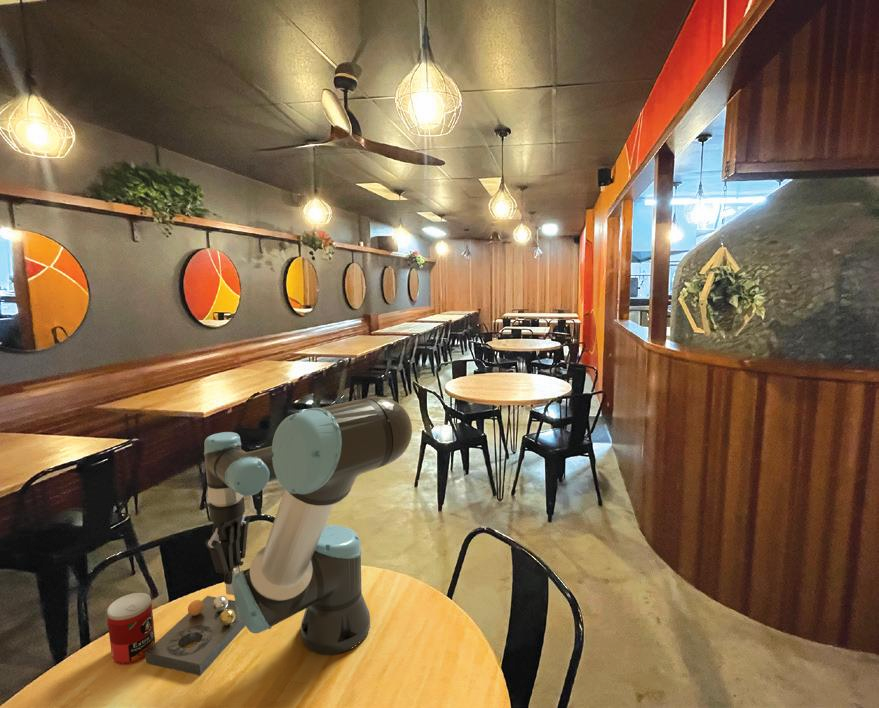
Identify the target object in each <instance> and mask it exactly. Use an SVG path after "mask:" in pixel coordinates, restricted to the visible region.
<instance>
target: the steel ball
mask: <svg viewBox="0 0 879 708" xmlns="http://www.w3.org/2000/svg"><path fill="white" fill-rule="evenodd" d="M228 600H229V599H228V597H226V596H225V595H219V596H217V598H216V599H215V600H214V602H213V608H214V610H215V611H218V612H220V611H223V610H224V609H225V608H226V607H227V605H228Z"/></svg>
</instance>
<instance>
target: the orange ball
mask: <svg viewBox="0 0 879 708" xmlns="http://www.w3.org/2000/svg"><path fill="white" fill-rule="evenodd" d="M203 608H204V604H203V602H202V600H200V599H193V600H192V601H191V602H190V603H189V605H188V606H187V611H188V613H189V614H190V615H192V616H196V615H198V614H200V613H201V612H202V610H203ZM188 613H187V614H188Z"/></svg>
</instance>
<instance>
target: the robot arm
mask: <svg viewBox="0 0 879 708" xmlns="http://www.w3.org/2000/svg"><path fill="white" fill-rule="evenodd" d="M412 435H413V425H412V419H411V418H410V415H409V413H408V412H407V410H406V409H405V408H404V407H403V406H402V405H401V404H400V403H399V402H397V401H395V400H393V398H388V397H384V396H369V397H365V398H361V399H356V400H350V401H345V402H342V403H341V402H340V403H337V404H332V405H328V406H323V407H312V408H311V407H309V408H307V409H305V410H303V411H300V412H296V413H294V414H291V415H288V416H286V417H285V418H284V419H283V420H281V422H280V423H279V425H278V426H277V428H276V430H275V432H274V435H273V439H272V442H271V443H272V444H271V445H270V446H268V447H263V448H259V449H256V450H251V451H245V450H244V449H242V441H241V437H240V434H238V433H237V432H233V431H224V432H223V431H222V432H218V433H213V434H211V435H209V436H207V437H206V438H205V440H204V445H203V446H204V449H203V450H204V452H203V455H204V461H205V474H206V475H205V476H206V484H207V485H206V486H207V495H208V502H209V503H208V514H209V515H208V516H209V519H210V520H211V522H212V523H213V527H212V535H211V537H210V539H206V540H205V541H204V545H205V546H206V547H207V548H208V550H209V553H210V557H211V560H212V563H213V566H214V570H215V572H216V573H220V574H223V581H224V584H225V593H226V595H231V596H233V597H234V601H236V605H237V607H238V610H239V613H240V615H241V618H242V620H243V622H244V624H245V627H246V628H247V630H248V631H249V632H250V633H253V634H260V633H262V632H265V631H267V630H270V629H272V627H273V626H275V625H277V624H279V623H281V622H284V621H285V620H288V618H292V617H293V616H295V615H296V614H298V613H300V612H301V611H304V613H303V616H302V620H301V623H300V624H301V625H300V634H301V635H300V638H301V640H302V643H303V645H304V647H306V648H307V649H308V650H310V651H311V652H313V653H317V654H318V655H319V654H320V655H339V654H343V653H346V652H348V651H350V650H349V649H351V648H352V647H354V646H355V645H357V644H358V643H359V642H361V641H362V640H363V639H364V638H365V636H366V635H367V633H368V631H369V632H370V630H369V629H371V615H370V614H371V613H370V610H369V607H368V606H367V603H366V601H365V598H364V596H363V592H362V558H361V557H362V556H361V555H362V548H361V540H360V537H359V535H358V534H357V532H356V531H354V530H353V529H351V528H349V527H346V526H343V525H335V524H334V525H333V524H331V525H327V522H328V520H329V517H330V516H331V513H332V512H333V511H332V510H333V508H334V506H335V505H336V504H339V503H340V502H342V501H343V500H344V499H345V498H346V497H347V496H348V495H349V494H350V492H351V490H352V487H353V486H354V483H355V481H356V479H357V477H359V476H360V475H362V474H365V473H368V472H370V471H374V470H376V469H379V468H382V467H385V466H387V465H390V464H391V463H393V462H395V461H396V460H398V459H399V458H400V457H401V456H402V455H403V454H404V453H405V452H406V451H407V448H408V447H409V445H410V443H411V441H412V440H411V439H412ZM275 481H278V483H279V485H281V487H282V488H283V489H284V490H283V493H282V496H281V499H280V503H279V504H278V508H277V512H276V514H275V517H274V520H273V523H272V527H271V529H270V533H269V535H268V537H267V542H266V544H265V546H264V547H262V548H261V549H260V550H259V551H257V553H256V554H255V556H254V557H253V559H252V560H251V563H250V566H249V568H247V569H245V570H244V569H243V570H240V566H243V565H244V561H242V559H245V558H246V551H247V541H248V529H249V524H250V520H251V516H249V515H244V514H245V512H246V505H245V504H246V503H245V497H247V496H248V497H249V496H250V497H251V496H254V495H257V494H259V493H260V492H261V491H262V490H263V489H265V488H266V486H267V484H268V483H270V482H271V483H272V482H275ZM244 496H245V497H244ZM368 634H369V633H368ZM367 636H368V635H367ZM367 636H366V637H367ZM365 639H366V638H365ZM365 639H364V640H365ZM364 640H363V641H364ZM363 641H362V642H363ZM362 642H361V643H362ZM357 646H358V645H357ZM354 648H355V647H354ZM347 650H348V651H347ZM351 650H352V649H351ZM345 651H346V652H345ZM342 652H343V653H342Z"/></svg>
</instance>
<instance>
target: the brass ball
mask: <svg viewBox="0 0 879 708" xmlns="http://www.w3.org/2000/svg"><path fill="white" fill-rule="evenodd" d="M234 619H235V612H234V611H233V610H231V609H226V610H224V611H223V612H222V613H221V615H220V618H219V621H220V623H221V624H222V625H224V626H227V625H230V624H231V623H232V622H233V621H234Z"/></svg>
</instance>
